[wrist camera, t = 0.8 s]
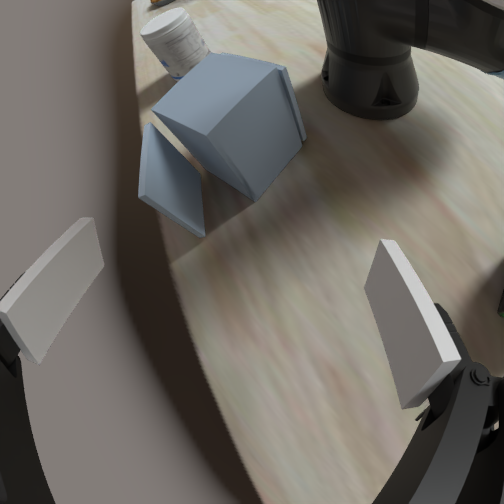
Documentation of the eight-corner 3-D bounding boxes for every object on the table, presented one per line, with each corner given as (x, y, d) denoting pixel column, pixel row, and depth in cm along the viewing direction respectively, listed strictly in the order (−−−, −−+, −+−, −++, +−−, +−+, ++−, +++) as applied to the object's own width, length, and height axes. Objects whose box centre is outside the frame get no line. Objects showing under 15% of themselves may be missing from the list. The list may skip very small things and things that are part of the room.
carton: (253, 116, 40) (217, 47, 27) (307, 141, 35) (284, 61, 23) (205, 169, 39) (150, 109, 27) (256, 202, 35) (206, 136, 23)
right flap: (195, 176, 39) (144, 125, 27) (200, 174, 38) (150, 122, 27) (199, 238, 36) (137, 197, 24) (205, 236, 35) (144, 194, 24)
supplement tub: (168, 76, 51) (133, 32, 37) (202, 52, 50) (172, 5, 37) (186, 90, 47) (146, 38, 34) (224, 62, 46) (192, 8, 33)
